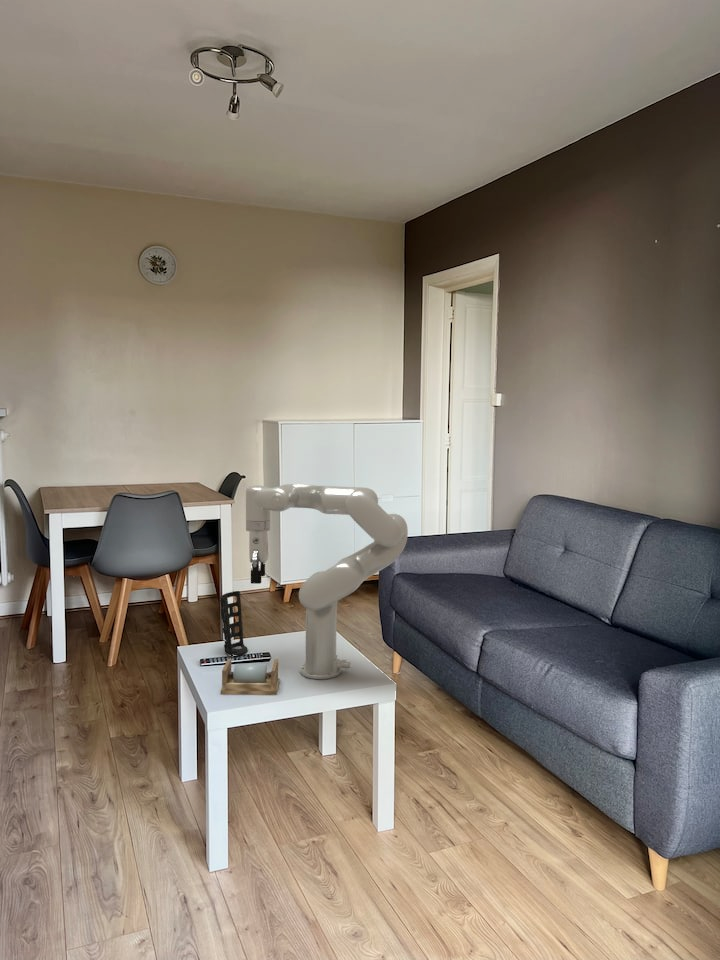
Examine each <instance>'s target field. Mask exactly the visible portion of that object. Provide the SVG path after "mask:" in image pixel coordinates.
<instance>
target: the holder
mask: <svg viewBox="0 0 720 960" xmlns="http://www.w3.org/2000/svg"><path fill="white" fill-rule="evenodd" d="M232 597H236V602H231V603H229V601H228V598H232ZM219 598H220V599H219V601H220V615H221V620H222V633H223V638H224V645H223V646H224V647H223V648H224V653H225V654H226V655H229V656H230V655H231V656H233V655H239V656H241V655H243V654H245V653H246V652H248V647H247V646H246V645H245V644H244V631H243V630H244V629H243V617H242V614H243V613H242V602H241V601H242V600H241V591H240V590H235V591H231V592H226V593H224V594H222V595H220V596H219ZM234 607H237V611H236V612H235V611H234ZM234 617H237V618H238V621H236V622H233V623H230V618H234ZM236 627H237V628H238V632H236ZM236 637H239V641H238V642H233V643H232V639H233V638H236ZM239 647H240V648H239ZM231 656H230V657H231Z"/></svg>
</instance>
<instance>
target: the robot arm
mask: <svg viewBox="0 0 720 960" xmlns="http://www.w3.org/2000/svg"><path fill="white" fill-rule="evenodd" d="M291 508H294V509H295V508H296V509H297V508H298V509H299V508H301V509H313V510H316V511H318V512H320V513H322V514H326V515H343V516H344V515H345V516H349V517H350V518H351V519H352V520H353V521H354V522H355V524H357V526H359V527H360V528H361V529H362V530H363V531H364V532H365V533H366V534H367V535H368V536H369V537H370V538H371V539H372V540H373V542H371V543H370V544H368V545H366V546H365V547H363V548H362V549H359V550H358V551H356V552H354V553H352V554H350V555H348V556H345V557H343V558H342V559H340V560H338V561H337V563H335V565H332V566H330V567H329V568H328V569H325V570H322V571H317V572H315V573H313V574H312V575H310V576H309V577H308V578H307V579H306V581H304V582H303V583H302V584H301V586H300V588H299V591H298V600H299V602H300V605H301V606H302V607H304V608H305V664H304V665H302V666H301V667H300V674H301V675H302V676H304V677H305V678H309V679H313V680H314V679H315V680H323V679H324V680H327V679H332V678H335V677H338V676H339V675H340V674H341V673H342V669H351V661H348V660H347V659H339V658H338V655H337V623H338V622H337V618H338V617H337V614H338V613H337V612H338V602H339V601H340V600H342V599H344V598H345V597H347V596H349V595H351V594H352V593H354V592H355V591H356V590H357V589H358V588H360V586H361V584H363V582H365V581H366V580H367V579H369V578H370V577H372V576H374V575H376V574H377V573H380V571H382V570H384V569H385V568H387V567H388V566H390V565H391V564H393V563H394V562H395V561H396V560H397V559H398V558H399V557H400V555H401V554H402V553H403V551H404V549H405V547H406V545H407V541H408V533H409V532H408V531H409V530H408V524H407V522H406V520H405V518H404V517H403V516H401V515H400V514H397V513H389V514H388V513H387V512H386V511H385V510H384V509H383V508H382V506H380V505H379V497H378V495H377V493H376V492H375V491H374V490H373V489H372V488H370V487H369V488H368V487H361V486H360V487H356V486H334V485H333V486H331V485H315V484H292V483H290V484H289V483H287V484H282V485H279V486H275V487H268V486H266V485H251V486H247V487H246V490H245V531H246V532H249V536H248V537H249V543H248V546H249V547H248V549H249V553H248V555H249V563H251V566H250V567H251V568H250V584H255V585H256V584H257V585H258V584H260V585H261V584H262V577H265V576H266V562H267V561H268V559H269V538H268V537H269V536H268V535H269V534H268V532H269V531H271V511H272V512H278V513H279V512H284V511H286V510H289V509H291ZM341 668H342V669H341Z"/></svg>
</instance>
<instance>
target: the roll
mask: <svg viewBox="0 0 720 960" xmlns="http://www.w3.org/2000/svg"><path fill="white" fill-rule="evenodd" d="M233 672H234V683H266V682H267V672H268V665H267V663H257V664H256V663H235V664H234V668H233Z"/></svg>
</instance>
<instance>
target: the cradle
mask: <svg viewBox="0 0 720 960" xmlns="http://www.w3.org/2000/svg"><path fill="white" fill-rule="evenodd" d="M280 680H281V679H280V677H279V659H278V658H274V660H273V664H272V667H271V670H270V671H267V682H266V683H234V671H232V658H227V660H226V662H225V664H224V666H223V668H222V670H221V689H220V691H219V693H220V695H257V696H258V695H259V696H260V695H263V696H264V695H269V696H271V695H273V696H274V695H277V693H278V690H279V686H280Z"/></svg>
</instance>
